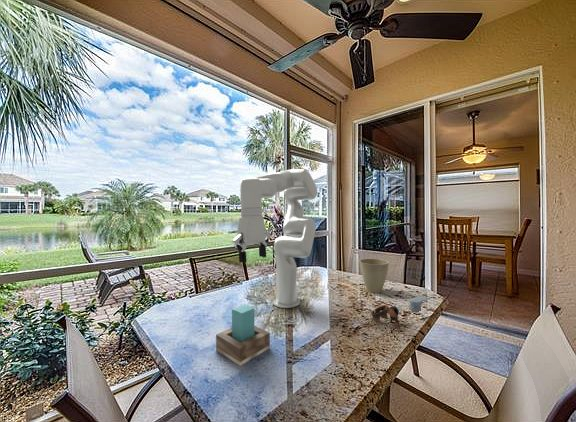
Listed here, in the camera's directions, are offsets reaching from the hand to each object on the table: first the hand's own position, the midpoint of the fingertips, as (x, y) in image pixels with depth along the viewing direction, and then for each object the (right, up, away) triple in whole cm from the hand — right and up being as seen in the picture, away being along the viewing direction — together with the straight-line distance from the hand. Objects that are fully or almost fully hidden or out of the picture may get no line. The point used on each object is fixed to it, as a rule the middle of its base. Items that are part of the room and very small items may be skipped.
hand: (253, 259), depth 93 cm
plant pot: (+59, -26, +44) cm, 78 cm away
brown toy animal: (+51, -26, +5) cm, 58 cm away
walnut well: (-2, -26, -12) cm, 29 cm away
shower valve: (+68, -27, +18) cm, 76 cm away
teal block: (-2, -25, -12) cm, 28 cm away
